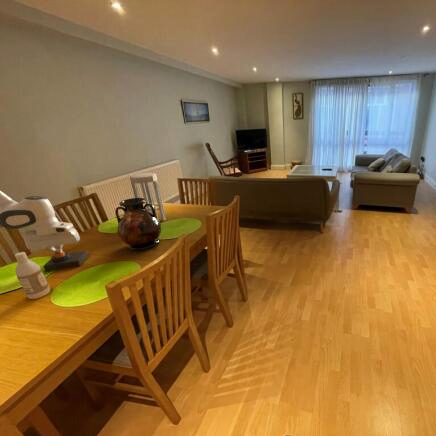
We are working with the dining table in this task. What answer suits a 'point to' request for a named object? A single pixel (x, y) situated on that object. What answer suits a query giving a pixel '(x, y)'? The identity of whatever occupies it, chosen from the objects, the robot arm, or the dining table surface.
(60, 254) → the button
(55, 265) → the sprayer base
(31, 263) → the bath foam
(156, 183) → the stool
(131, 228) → the amphora vase
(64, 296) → the dining table surface
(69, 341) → the dining table surface
